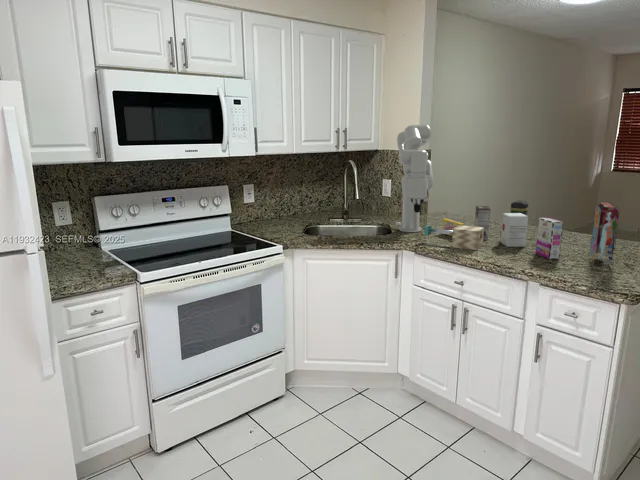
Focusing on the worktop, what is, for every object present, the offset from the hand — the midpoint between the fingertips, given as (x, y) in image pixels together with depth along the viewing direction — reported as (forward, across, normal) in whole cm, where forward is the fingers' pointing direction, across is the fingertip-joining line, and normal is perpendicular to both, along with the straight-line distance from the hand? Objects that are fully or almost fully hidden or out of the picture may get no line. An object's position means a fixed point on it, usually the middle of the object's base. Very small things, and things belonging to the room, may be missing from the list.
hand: (417, 212), depth 228 cm
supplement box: (+15, +44, +15) cm, 48 cm away
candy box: (+15, +12, +20) cm, 28 cm away
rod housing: (+15, +26, +1) cm, 30 cm away
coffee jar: (+15, +42, +37) cm, 57 cm away
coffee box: (+15, +26, +23) cm, 38 cm away
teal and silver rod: (+11, +14, +1) cm, 18 cm away
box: (+16, +80, +2) cm, 81 cm away
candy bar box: (+16, +60, 0) cm, 63 cm away
